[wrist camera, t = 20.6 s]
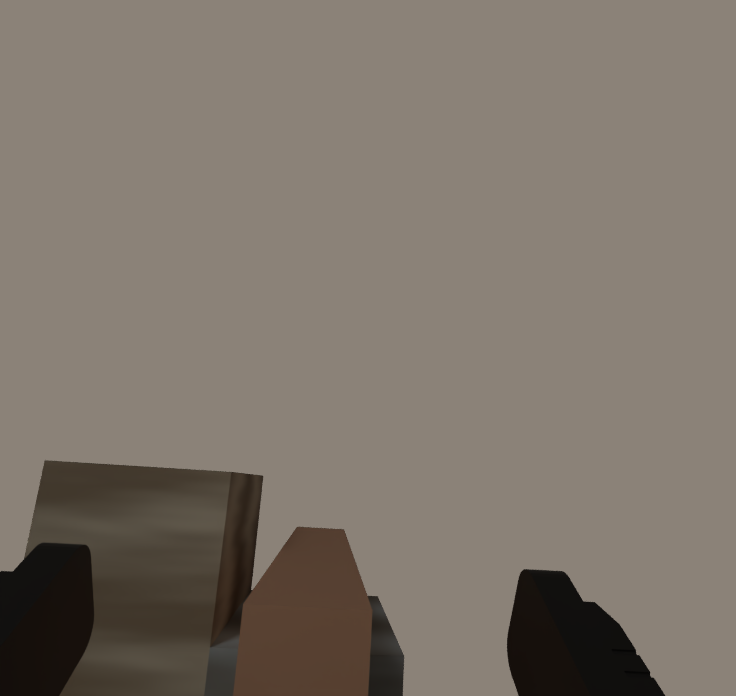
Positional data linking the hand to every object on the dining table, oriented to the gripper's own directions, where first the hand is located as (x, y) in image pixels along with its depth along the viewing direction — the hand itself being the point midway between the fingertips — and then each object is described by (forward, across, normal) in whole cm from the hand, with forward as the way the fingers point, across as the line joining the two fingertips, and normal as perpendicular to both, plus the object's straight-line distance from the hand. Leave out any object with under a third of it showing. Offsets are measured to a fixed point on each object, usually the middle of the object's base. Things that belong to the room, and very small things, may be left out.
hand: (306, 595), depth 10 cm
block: (+13, 0, +13) cm, 19 cm away
